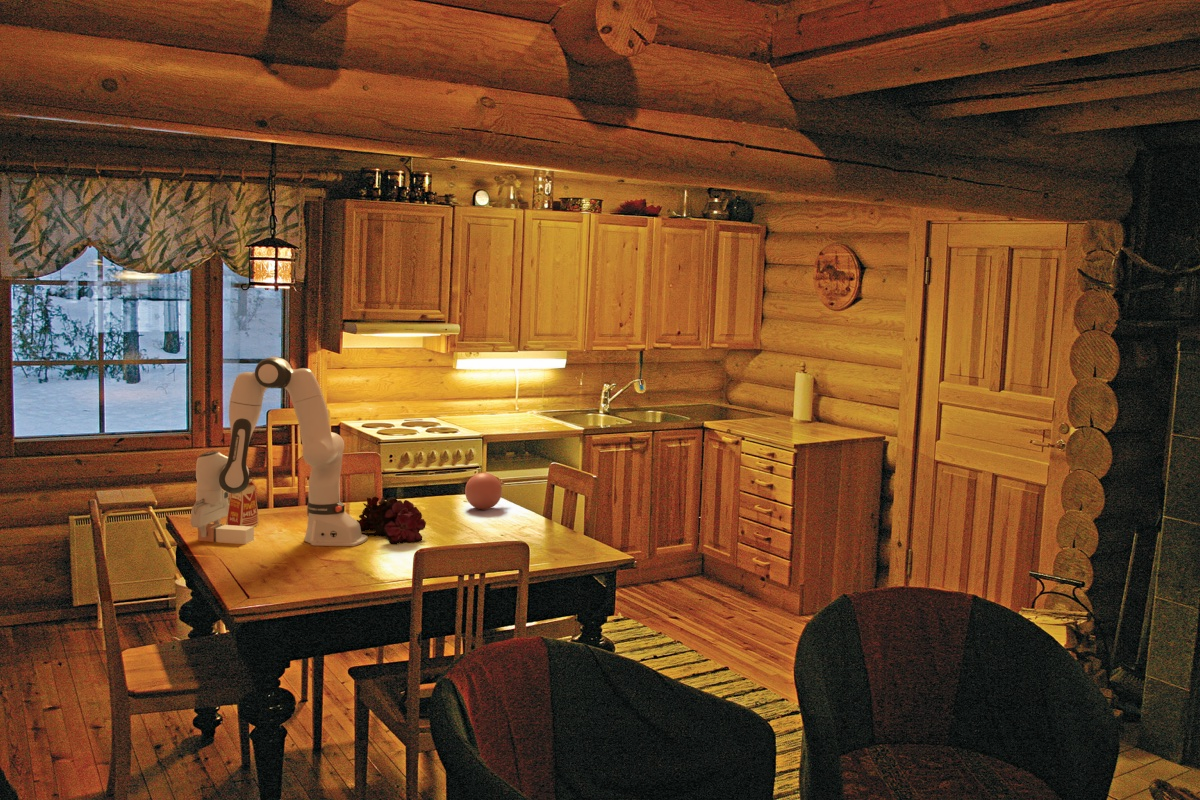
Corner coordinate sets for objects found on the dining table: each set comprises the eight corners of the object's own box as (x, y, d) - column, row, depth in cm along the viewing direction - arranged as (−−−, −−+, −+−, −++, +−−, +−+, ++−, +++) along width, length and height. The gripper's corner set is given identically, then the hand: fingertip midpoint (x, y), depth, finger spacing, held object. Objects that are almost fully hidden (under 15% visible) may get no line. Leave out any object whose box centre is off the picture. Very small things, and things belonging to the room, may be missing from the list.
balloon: (517, 507, 453) (517, 472, 451) (482, 514, 438) (482, 477, 436) (492, 502, 463) (492, 467, 461) (457, 508, 448) (457, 472, 446)
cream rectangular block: (253, 540, 385) (253, 526, 385) (245, 544, 379) (245, 530, 379) (222, 538, 387) (222, 524, 387) (214, 542, 381) (214, 528, 381)
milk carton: (225, 527, 406) (224, 475, 404) (244, 522, 415) (243, 471, 412) (243, 530, 402) (242, 477, 400) (261, 525, 410) (260, 474, 408)
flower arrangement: (347, 532, 403) (347, 493, 401) (389, 524, 418) (389, 487, 416) (398, 548, 382) (398, 506, 381) (441, 539, 397) (441, 499, 395)
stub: (222, 537, 387) (221, 524, 387) (213, 541, 381) (213, 527, 381) (206, 536, 388) (206, 523, 388) (198, 540, 382) (197, 526, 382)
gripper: (202, 502, 372) (202, 541, 374) (231, 491, 392) (232, 528, 394) (185, 501, 373) (186, 540, 375) (215, 490, 393) (216, 527, 395)
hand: (209, 534), depth 385 cm, fingers closed on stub, 6 cm apart
